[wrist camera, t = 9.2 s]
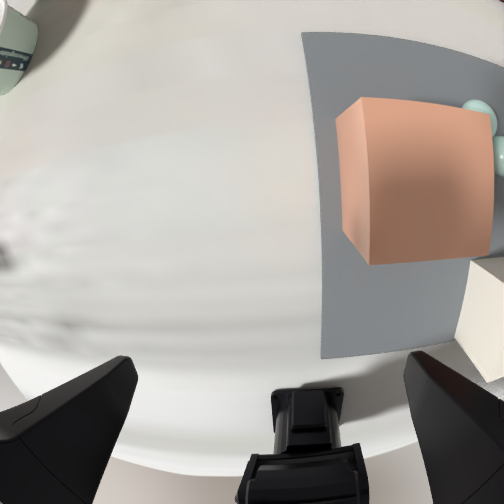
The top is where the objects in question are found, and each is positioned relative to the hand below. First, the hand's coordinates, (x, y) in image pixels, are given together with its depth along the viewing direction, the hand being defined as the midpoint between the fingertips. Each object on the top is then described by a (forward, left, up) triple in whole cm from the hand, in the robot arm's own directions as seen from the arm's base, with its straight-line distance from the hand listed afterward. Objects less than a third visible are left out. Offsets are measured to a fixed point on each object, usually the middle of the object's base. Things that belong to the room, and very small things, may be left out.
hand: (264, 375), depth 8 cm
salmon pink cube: (+5, -8, -12) cm, 15 cm away
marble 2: (+7, -17, -12) cm, 22 cm away
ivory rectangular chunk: (-5, -19, -12) cm, 23 cm away
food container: (+24, +26, -12) cm, 37 cm away
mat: (+3, -14, -12) cm, 18 cm away
